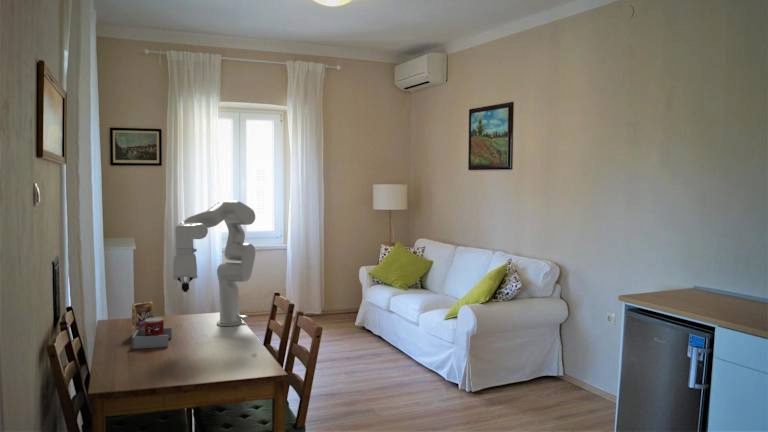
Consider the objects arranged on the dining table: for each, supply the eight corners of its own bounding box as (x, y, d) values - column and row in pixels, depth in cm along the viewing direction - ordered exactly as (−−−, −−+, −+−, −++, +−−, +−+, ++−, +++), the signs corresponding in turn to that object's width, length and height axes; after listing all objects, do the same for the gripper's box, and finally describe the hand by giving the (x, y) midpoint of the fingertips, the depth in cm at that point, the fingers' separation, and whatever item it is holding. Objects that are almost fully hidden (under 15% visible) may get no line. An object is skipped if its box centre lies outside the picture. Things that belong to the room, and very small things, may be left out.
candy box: (135, 337, 276) (134, 304, 276) (131, 335, 279) (131, 303, 279) (154, 333, 282) (153, 302, 282) (150, 332, 286) (149, 301, 285)
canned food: (141, 345, 262) (141, 320, 261) (152, 340, 270) (151, 316, 269) (157, 346, 260) (156, 321, 260) (167, 341, 268) (166, 317, 268)
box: (171, 338, 274) (171, 327, 274) (168, 346, 260) (168, 335, 260) (137, 340, 271) (137, 329, 270) (131, 348, 256) (131, 337, 256)
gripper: (202, 250, 272) (203, 289, 273) (168, 251, 268) (169, 291, 270) (201, 252, 265) (202, 292, 266) (166, 253, 261) (167, 294, 262)
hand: (185, 291), depth 268 cm, fingers closed
